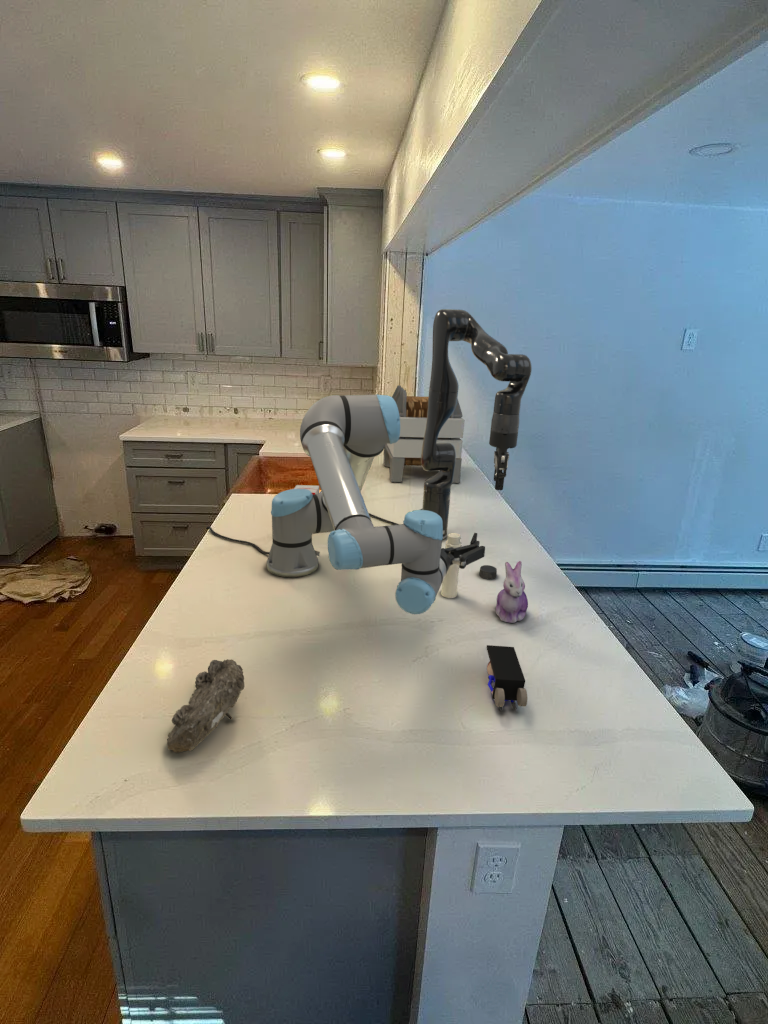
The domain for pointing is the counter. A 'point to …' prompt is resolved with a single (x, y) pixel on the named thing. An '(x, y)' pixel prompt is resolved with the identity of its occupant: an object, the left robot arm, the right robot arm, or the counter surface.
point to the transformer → (420, 435)
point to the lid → (488, 572)
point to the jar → (451, 569)
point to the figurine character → (506, 677)
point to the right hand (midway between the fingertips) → (497, 485)
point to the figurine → (512, 596)
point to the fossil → (206, 705)
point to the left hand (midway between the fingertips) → (448, 533)
